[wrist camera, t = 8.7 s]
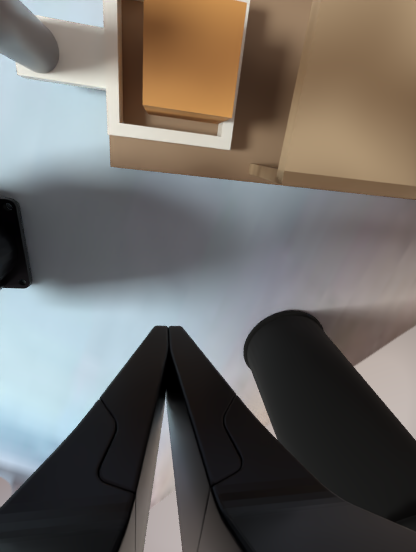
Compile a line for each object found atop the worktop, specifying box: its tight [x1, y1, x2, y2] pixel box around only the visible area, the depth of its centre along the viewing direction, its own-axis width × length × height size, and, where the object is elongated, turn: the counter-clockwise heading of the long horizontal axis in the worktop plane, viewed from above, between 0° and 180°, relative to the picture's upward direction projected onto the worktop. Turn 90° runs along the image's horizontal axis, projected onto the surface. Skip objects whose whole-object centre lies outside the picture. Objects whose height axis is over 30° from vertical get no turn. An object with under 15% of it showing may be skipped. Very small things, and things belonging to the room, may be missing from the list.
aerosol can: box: [244, 311, 416, 532], centre depth 18 cm, size 8×8×20 cm
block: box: [143, 0, 247, 124], centre depth 13 cm, size 4×4×4 cm
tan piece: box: [110, 0, 416, 200], centre depth 15 cm, size 10×25×8 cm, turn 83°
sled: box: [0, 0, 250, 150], centre depth 10 cm, size 7×11×10 cm, turn 83°
